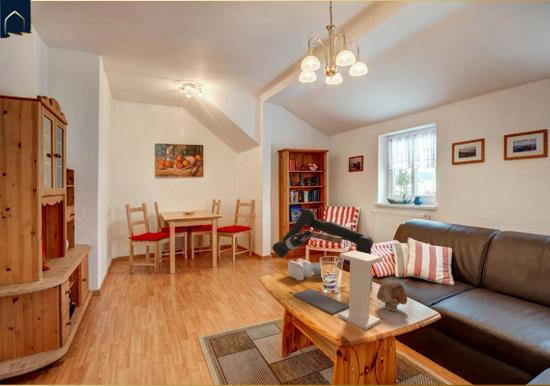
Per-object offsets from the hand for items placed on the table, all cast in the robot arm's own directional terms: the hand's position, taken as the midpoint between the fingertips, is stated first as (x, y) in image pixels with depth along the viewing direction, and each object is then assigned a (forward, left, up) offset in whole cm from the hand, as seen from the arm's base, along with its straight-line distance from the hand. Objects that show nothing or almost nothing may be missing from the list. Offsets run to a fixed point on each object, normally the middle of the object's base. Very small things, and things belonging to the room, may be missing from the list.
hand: (312, 231), depth 163 cm
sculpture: (-30, +33, -39) cm, 59 cm away
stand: (-6, +33, -39) cm, 51 cm away
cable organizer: (-13, -31, -39) cm, 52 cm away
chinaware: (-28, -27, -39) cm, 55 cm away
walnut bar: (-1, +7, -3) cm, 8 cm away
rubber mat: (-1, +7, -39) cm, 40 cm away
